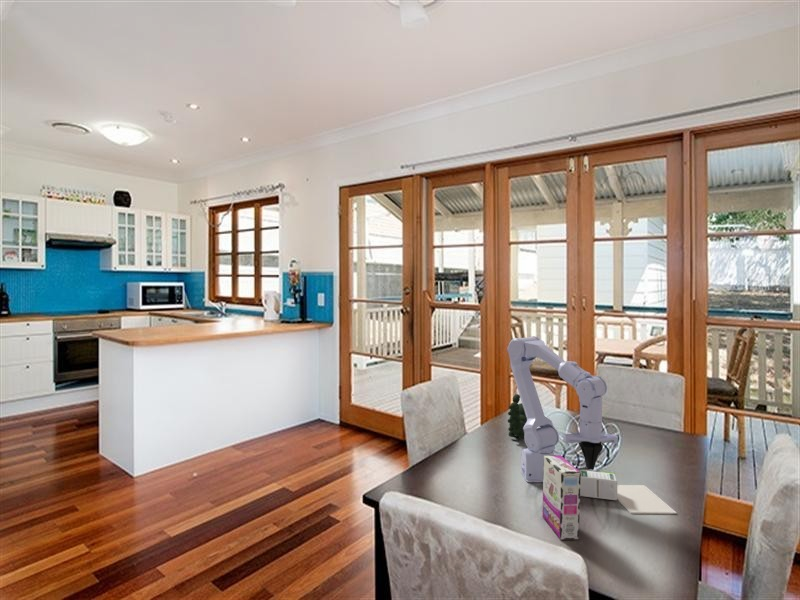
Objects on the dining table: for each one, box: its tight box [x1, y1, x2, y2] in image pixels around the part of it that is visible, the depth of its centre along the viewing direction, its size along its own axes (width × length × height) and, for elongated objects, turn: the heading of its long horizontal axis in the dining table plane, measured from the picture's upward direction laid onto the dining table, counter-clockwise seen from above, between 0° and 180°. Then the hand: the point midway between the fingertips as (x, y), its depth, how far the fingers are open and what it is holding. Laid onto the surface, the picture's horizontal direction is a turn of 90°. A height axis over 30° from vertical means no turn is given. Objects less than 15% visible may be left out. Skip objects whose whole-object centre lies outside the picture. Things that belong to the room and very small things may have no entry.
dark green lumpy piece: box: [507, 393, 527, 439], centre depth 181 cm, size 9×19×25 cm
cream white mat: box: [616, 484, 678, 515], centre depth 127 cm, size 12×16×1 cm
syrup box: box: [576, 468, 618, 501], centre depth 130 cm, size 6×6×14 cm
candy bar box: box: [542, 454, 581, 541], centre depth 112 cm, size 11×5×16 cm, turn 5°
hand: (589, 467), depth 127 cm, fingers closed
